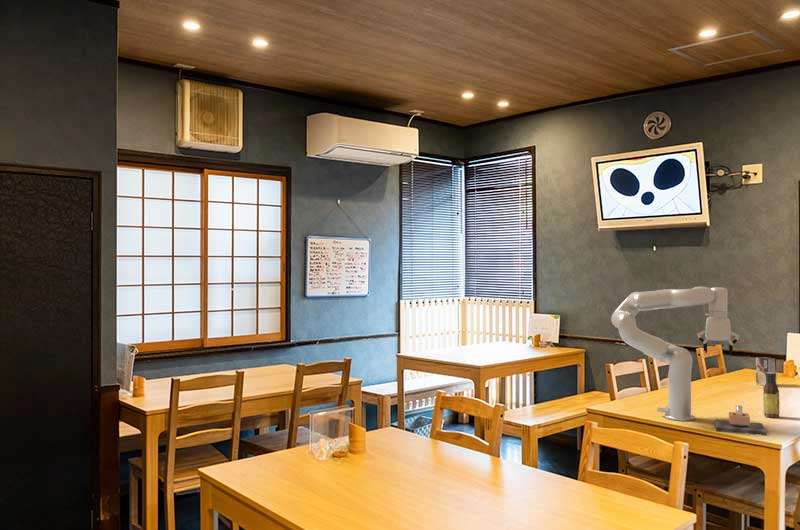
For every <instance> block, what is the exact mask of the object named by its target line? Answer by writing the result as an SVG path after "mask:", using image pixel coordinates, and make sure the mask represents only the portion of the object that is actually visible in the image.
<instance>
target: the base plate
mask: <svg viewBox="0 0 800 530" xmlns="http://www.w3.org/2000/svg"><path fill="white" fill-rule="evenodd" d="M714 426H715V427H716V428H715V427H714V428H715V431H716V432H722V431H724V433H733V434H735V433H736V434H745V433H748V434H747V435H756V434H761V435H760V436H767V431H766V429H765V426H764V424H763V423H762V422H751V421H750V425H747V427H737V426H733V425H731V424H730V422H729V419H728V420H725V419H714Z"/></svg>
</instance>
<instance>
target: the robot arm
mask: <svg viewBox="0 0 800 530" xmlns="http://www.w3.org/2000/svg"><path fill="white" fill-rule="evenodd" d="M728 294H729V293H728V289H727V288H726V287H717V286H716V287H714V286H713V287H708V286H707V287H706V286H695V287H693V288H685V289H683V288H681V289H678V288H677V289H676V288H668V289H666V288H665V289H657V290H648V291H634V292H631V293H630V294H629V295H628V296H627V297H626V298H625V299H624V300H623V301H622V302H621V304H620V305H619V306H618V307H617V308H616V310H614V312H613V313H612V314H611V318H610V321H611V324H612V325H613V326H614V328H616V329H618V334H619V336H620V338H621V339H622V341H623V342H624V343H625V344H626V345H628V346H630V347H632V348H634V349H636V350H638V351H640V352H642V353H643V354H644V355H646V356H648V357H649V358H652V359H654V360H656V361H658V362H661V363H663V364H665V365H668V373H667V407H666V406H665V407H661V406H660V407H658V406H657V412H659V413H664V418H665V417H666V419H669V420H673V421H681V422H690V421H694V420H696V417H695V415H693V414H692V371H693V370H692V369H693V357H692V353H690V351H689V350H688V349H686V348H685V347H681V346H677V345H675V344H673V343H670V342H668V341H666V340H664V339H662V338H660V337H658V336H655V335H653V334H650V333H648V332H645V331H643V330H641V329H639V328H638V326H637V322H636V321H637V320H636V316H637V315H638V314H639V312H640V311H641V312H644V311H645V312H646V311H653V310H661V309H674V308H683V307H691V306H701V305H702V306H703V305H708V311H706V312H704V315H705V316H707V318H706V320H705V329H704V330H702V331H700V332H698V333H696V336H697V338H698V340H699V341H700V342H701V343H702V344H703V352H704V353H705V354H707V353H708V341H720V342H728V343H729V345H728V354H729V355H731V354H732V353H733V352H734V350H733V348H734V345H735V344H736V343H738V341H739V339H740V337H741V336H740V335H739V334H737V333H736V332H734V331H732V330H731V329H732V328H731V320H730V318H729V317H728ZM704 334H705V335H704ZM702 335H704V336H705V339H704V338H703V337H702ZM732 336H733V337H735V338H734V340H732V339H731V338H732Z"/></svg>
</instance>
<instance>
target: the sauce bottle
mask: <svg viewBox="0 0 800 530" xmlns="http://www.w3.org/2000/svg"><path fill="white" fill-rule="evenodd" d="M775 377H776V378H777V372H776V373H772V372H767V373H766V384H765V386H763V388H762V389H763V393H762V394H763V399H762V400H763V416H764V417H766V418H771V419H776V418H780V390H779V387H778V384H777V380H776V381H775Z"/></svg>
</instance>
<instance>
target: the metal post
mask: <svg viewBox="0 0 800 530" xmlns="http://www.w3.org/2000/svg"><path fill="white" fill-rule="evenodd" d="M735 413H736V415H739V416H742V413H743V405H735ZM731 425H733V426H737V427H747V425H737V424H731Z"/></svg>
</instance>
